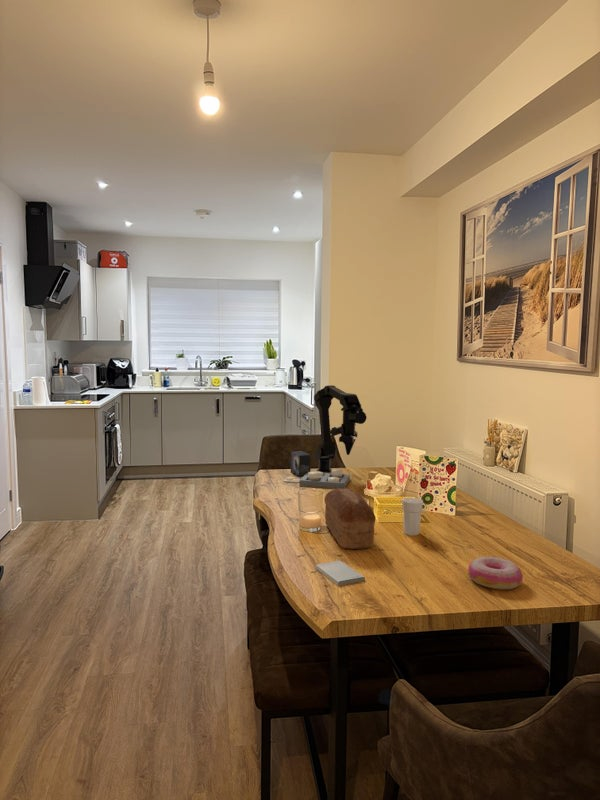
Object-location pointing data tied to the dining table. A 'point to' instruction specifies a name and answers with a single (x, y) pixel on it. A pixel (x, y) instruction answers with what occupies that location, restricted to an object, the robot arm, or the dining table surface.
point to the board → (320, 481)
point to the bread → (349, 518)
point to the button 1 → (313, 476)
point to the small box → (300, 463)
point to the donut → (495, 573)
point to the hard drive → (339, 573)
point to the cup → (412, 515)
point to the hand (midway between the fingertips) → (348, 454)
